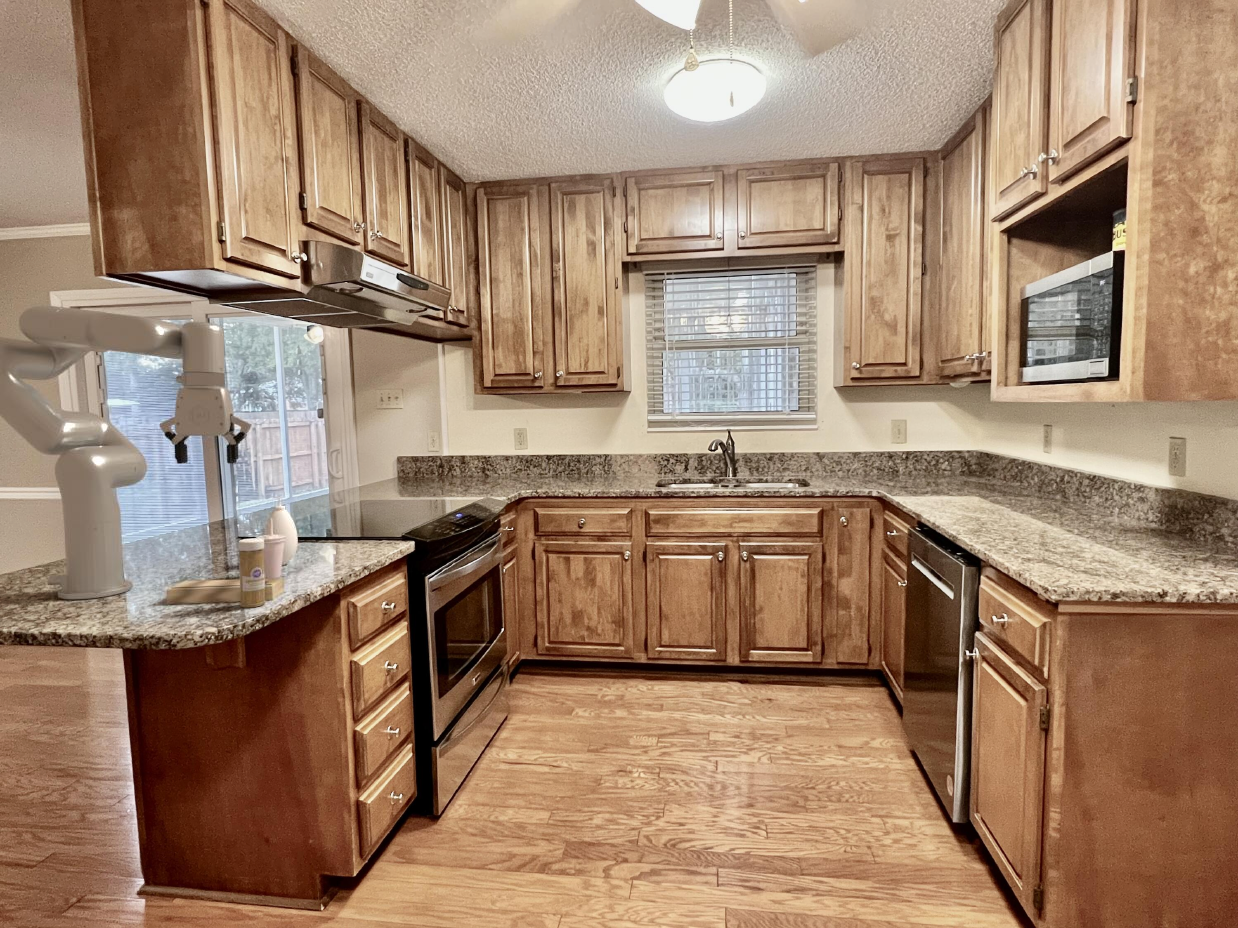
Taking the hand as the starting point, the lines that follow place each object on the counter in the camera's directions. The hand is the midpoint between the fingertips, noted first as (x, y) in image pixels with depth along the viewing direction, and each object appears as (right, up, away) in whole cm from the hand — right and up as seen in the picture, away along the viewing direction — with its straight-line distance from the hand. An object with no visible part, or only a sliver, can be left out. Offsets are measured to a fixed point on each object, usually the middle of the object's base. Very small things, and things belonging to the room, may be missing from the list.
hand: (207, 463), depth 138 cm
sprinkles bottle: (+13, -29, -6) cm, 33 cm away
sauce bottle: (0, -27, +30) cm, 40 cm away
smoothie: (+4, -27, +18) cm, 33 cm away
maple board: (+5, -28, -1) cm, 29 cm away
